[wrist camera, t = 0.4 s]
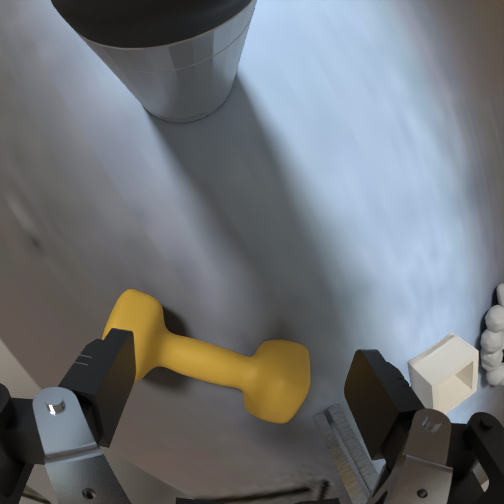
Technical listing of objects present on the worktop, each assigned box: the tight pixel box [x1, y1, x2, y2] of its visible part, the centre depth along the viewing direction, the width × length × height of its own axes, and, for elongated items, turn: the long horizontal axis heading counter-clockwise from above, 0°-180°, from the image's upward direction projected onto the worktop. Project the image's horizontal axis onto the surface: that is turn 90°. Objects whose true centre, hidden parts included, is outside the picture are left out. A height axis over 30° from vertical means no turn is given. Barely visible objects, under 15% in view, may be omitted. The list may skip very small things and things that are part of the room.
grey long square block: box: [313, 404, 379, 504], centre depth 28 cm, size 4×4×18 cm
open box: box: [408, 333, 479, 414], centre depth 34 cm, size 8×8×6 cm
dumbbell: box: [102, 289, 311, 424], centre depth 28 cm, size 19×9×8 cm, turn 67°
